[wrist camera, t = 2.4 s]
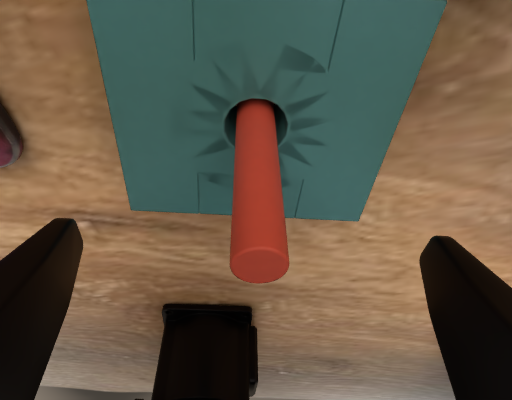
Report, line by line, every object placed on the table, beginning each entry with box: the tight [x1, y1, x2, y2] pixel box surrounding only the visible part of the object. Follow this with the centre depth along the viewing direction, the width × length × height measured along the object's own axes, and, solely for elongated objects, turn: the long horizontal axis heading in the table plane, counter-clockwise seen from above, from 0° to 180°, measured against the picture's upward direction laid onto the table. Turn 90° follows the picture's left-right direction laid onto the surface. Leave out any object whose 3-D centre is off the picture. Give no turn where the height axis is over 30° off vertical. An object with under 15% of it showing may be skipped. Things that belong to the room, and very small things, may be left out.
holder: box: [86, 0, 447, 221], centre depth 14 cm, size 10×9×3 cm
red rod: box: [230, 98, 289, 283], centre depth 12 cm, size 1×1×9 cm
